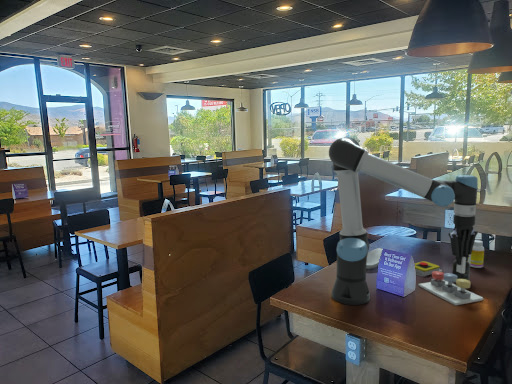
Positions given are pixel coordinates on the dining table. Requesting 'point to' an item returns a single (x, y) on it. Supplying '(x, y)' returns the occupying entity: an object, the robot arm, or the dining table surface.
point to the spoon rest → (373, 258)
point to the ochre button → (463, 284)
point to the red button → (438, 275)
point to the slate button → (450, 278)
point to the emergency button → (426, 268)
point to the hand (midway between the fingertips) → (460, 272)
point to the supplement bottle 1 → (461, 275)
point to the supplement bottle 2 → (477, 255)
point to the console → (450, 292)
